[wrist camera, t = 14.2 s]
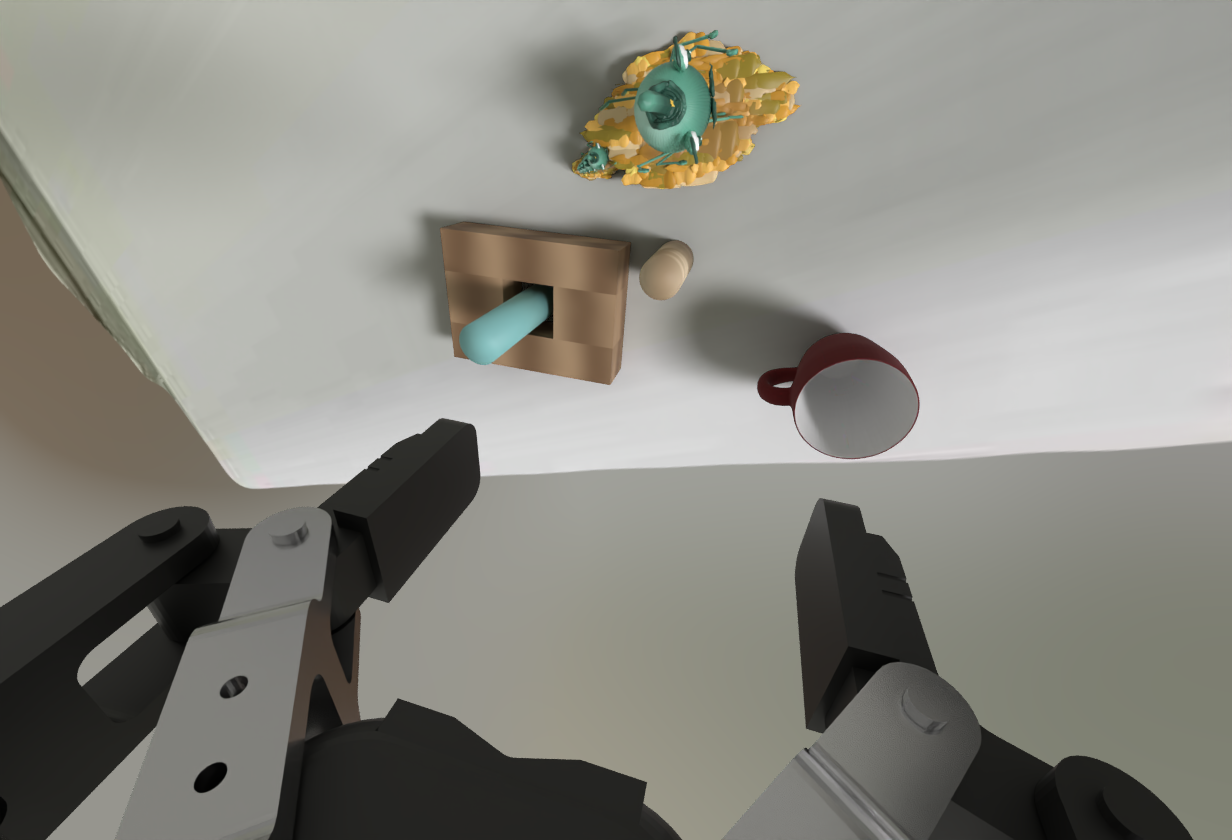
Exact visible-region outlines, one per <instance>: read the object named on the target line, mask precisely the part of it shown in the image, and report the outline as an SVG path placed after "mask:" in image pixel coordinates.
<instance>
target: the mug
mask: <svg viewBox="0 0 1232 840" xmlns="http://www.w3.org/2000/svg"><path fill="white" fill-rule="evenodd" d="M789 381H794V382H793V384H792V386H791V387H790V388H779V387H774V385H777V384H780V383H784V382H789ZM757 389H758V393H759V395H760V397H761V398H762V399H763V400H765V401H766V402H768V403H770V404H774V405H780V406H791V408H792V411H793V417H794V422H795V425H796V428H797V430H798V432H799V434H800V435H801V437H802V438H803V439H804V440H805V441H806V442H807V443H808V444H809V445H810V446H811V447H813V448H814V449H815V450H817V451H819V452H821V453H823V454H826V455H829V456H832V457H836V458H842V459H860V458H866V457H871V456H874V455H877V454H880V453H883V452H885V451H887V450H889V449H890V448H892V447H894V446H895V445H897V444H898V443H899V442H900V441H902V440H903V439H904V438H905V437H906V436H907V434H908V433H909V432H910V431H911V429H912V428H913V426H914V424H915V422H916V420H917V417H918V413H919V396H918V392H917V389H916V387H915V385H914V383H913V381H912V379H911V377H910V375H909V374H908V372H907V371H906V369H905V368H904V366H903V365H902V364H901V363H900V362H899V360H898V359H896V358H895V357H894V356H893V355H892V354H890V353H889V352H888V351H886V350H885V349H883V348H882V347H880V346H879V345H877V344H876V343H874V342H873V341H871V340H869V339H868V338H866V337H863V336H861V335H857V334H852V333H838V334H833V335H829V336H827V337H824V338H822V339H820V340H819V341H817V342H816V343H814V344H813V345H812V346H811V347H810V348H809V349H808V350H807V351H806V353H805V354H804V356H803V357H802V359H801V361H800V363H799V365H798V367H792V368H779V369H774V370H770V371H768V372H766V373H764V374H763V375H762V376H761V377H760V378H759V381H758V385H757Z"/></svg>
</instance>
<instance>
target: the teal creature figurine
mask: <svg viewBox="0 0 1232 840" xmlns="http://www.w3.org/2000/svg"><path fill="white" fill-rule="evenodd" d="M717 35H718V30H715V31H713V32H712V33H710V34H709V35H705V33H703V32H700V33H697V34H696V33H693V32H689V33H687V34H686V35H685V36H684V37H683V38H682V39H681V40H680V41H679V42H677V36H675V37H674V38H673V41H674V44H673V45H671V46H670V47H669V48H668V49H666V50H664V51H657V52H651V53H649V54H646V55H644V56H642V57H640V56H638V57H637V58H636V60H635V61H634V63H631V64H629V66H628V67H627V69H626V70H627V71H624V73H623V75H622V76H623V80H624V82H625V83H626V85H622V86H619V87H617V88H615V89H613V92H612V94H611V95H612V97H607V98H605V99H604V105H602V106H601V107H600V108H599V110H600V112H599V113H598V114H596V115H595V117H594V119H595V120H594V121H589V122H588V123H587V124H586V126H585V127H586V128H587V130H585V131H584V132H581V133H579V134H582V135H583V136H584V138H585V139H586V140H587V142H590V143H593V144H594V145H593V147H592V146H589V144H590V143H588V144H587V146H589V147H592V148H590V149H589V152H587V153H585V154H584V153H581V155H583V156H582V157H581V159H580V160H576V161H575V162H574V163H572V165H573V166H572V170H573V172H574V173H575V174H576V173H577V174H579V175H580V176H581V177H583V178H587V179H588V180H594V179H596V178H606V179H609V178H611V177H612V176H611V175H612V174H614V173H615V172H616V170H618V169H622V170H626V172H625V173H626V174H625V175H624V176H623V178H622V180H621V181H622V182H623V184H624V185H630V184H641V185H642V187H643V188H659V189H672V188H678V187H679V188H681V186H696V185H703V184H708V183H712V182H714V181H715V179H716V178H717V175H718V172H719V171H724V170H726V169H728V168H729V166H730V165H733V164H735V163H736V162H737V161H742V159H743V156H742V155H741V154H745V155H749V154H750V152H751V151H752V149H753V148H754V147H755V144H753V143H752V140H751V137H750V136H751V134H755V135H756V133H757V132H758V130H757V127H759V126H760V125H765V124H769V123H777V122H781V121H784V120H786V118H787V116H788V115H790V114H792V113H794V112H795V111H796V109H797V108H798V107H800V106H799V105H794V103H795V99H794V94H795V93H796V91H797V89H798V87H799V86H800V85H799V84H798V83H797V82H796V81H791V82H789V81H790V80H791V79H793V78H795V77H792V76H790V75H789V74H787V73H786V72H774V71H773V70H770V68H769V67H767V66H765V65H763V64H762V63H761V61H760V57H759V55H757V54H756V53H755V52H749V51H745V52H743V50H742V49H741V48H740V47H739V46H734V47H729V48H725V47H724V45H723V44H722V43H721V42H720V41H714V40H710V41H709V40H708V38H710V39H713V38H715V37H717ZM761 64H762V65H761ZM788 82H789V83H788ZM787 83H788V84H787ZM617 85H619V84H617Z"/></svg>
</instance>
